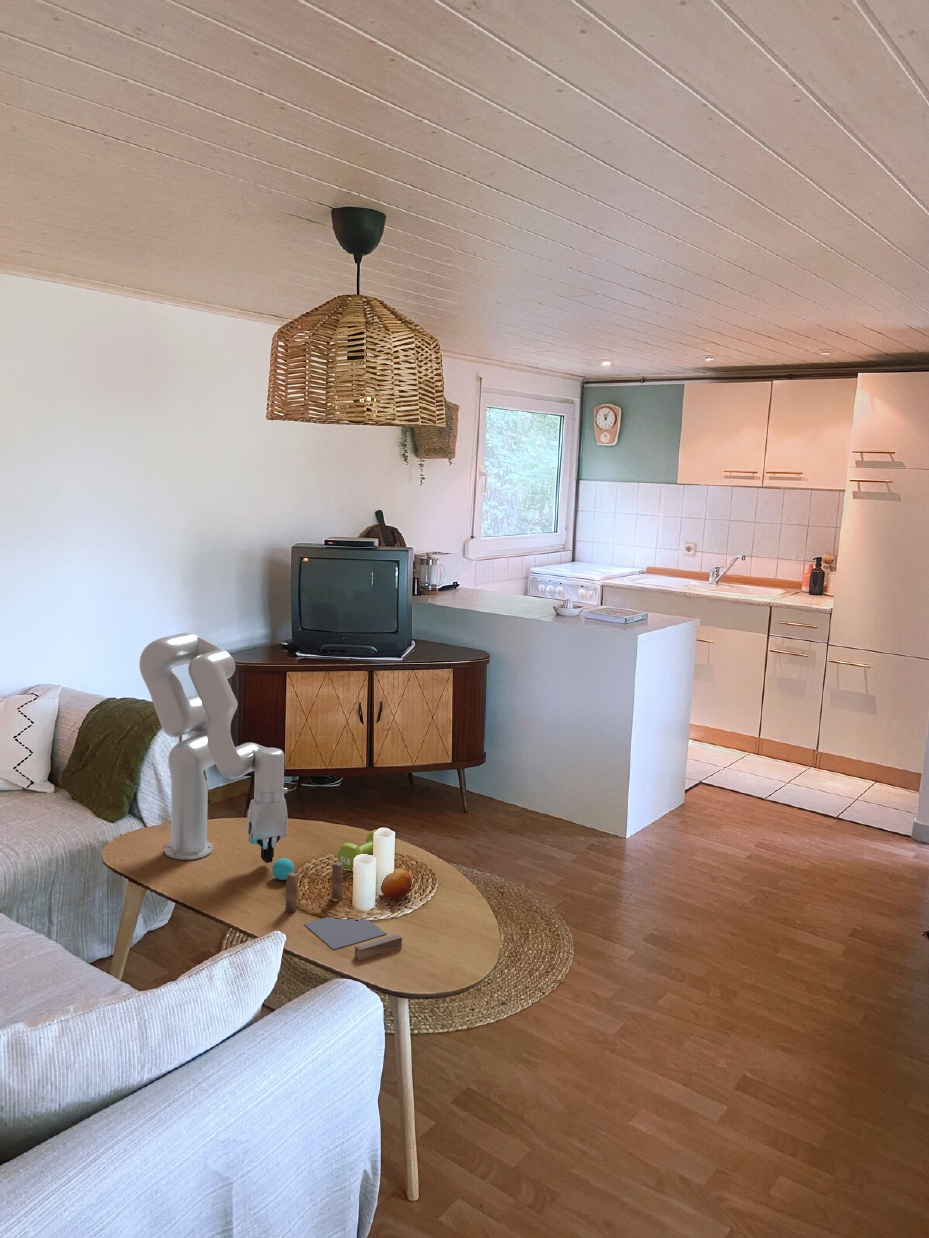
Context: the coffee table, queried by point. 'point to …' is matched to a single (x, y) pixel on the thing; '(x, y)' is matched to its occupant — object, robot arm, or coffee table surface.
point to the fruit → (397, 884)
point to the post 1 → (291, 892)
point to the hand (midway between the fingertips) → (267, 860)
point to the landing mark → (344, 931)
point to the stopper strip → (378, 947)
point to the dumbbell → (354, 851)
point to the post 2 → (337, 880)
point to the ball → (282, 868)
